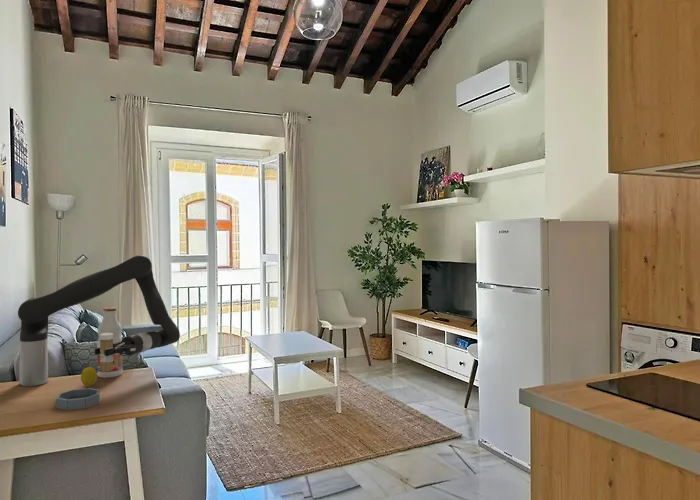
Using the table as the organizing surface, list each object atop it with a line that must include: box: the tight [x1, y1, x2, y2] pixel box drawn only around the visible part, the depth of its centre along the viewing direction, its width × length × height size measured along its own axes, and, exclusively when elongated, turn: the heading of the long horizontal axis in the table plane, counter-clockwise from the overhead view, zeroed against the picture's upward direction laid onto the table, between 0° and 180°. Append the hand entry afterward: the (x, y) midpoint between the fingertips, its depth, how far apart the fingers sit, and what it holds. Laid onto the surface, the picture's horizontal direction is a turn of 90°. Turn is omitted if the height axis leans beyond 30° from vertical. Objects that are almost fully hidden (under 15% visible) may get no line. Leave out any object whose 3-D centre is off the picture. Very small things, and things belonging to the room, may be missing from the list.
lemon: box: [80, 366, 98, 388], centre depth 198 cm, size 6×6×8 cm
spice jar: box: [100, 333, 113, 371], centre depth 190 cm, size 5×5×14 cm
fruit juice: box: [96, 306, 124, 379], centre depth 215 cm, size 9×9×28 cm
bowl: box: [55, 387, 101, 411], centre depth 179 cm, size 13×13×3 cm
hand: (100, 352), depth 187 cm, fingers closed on spice jar, 4 cm apart
